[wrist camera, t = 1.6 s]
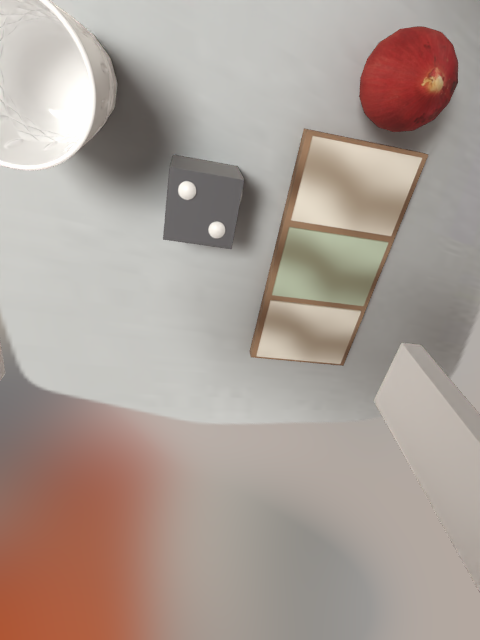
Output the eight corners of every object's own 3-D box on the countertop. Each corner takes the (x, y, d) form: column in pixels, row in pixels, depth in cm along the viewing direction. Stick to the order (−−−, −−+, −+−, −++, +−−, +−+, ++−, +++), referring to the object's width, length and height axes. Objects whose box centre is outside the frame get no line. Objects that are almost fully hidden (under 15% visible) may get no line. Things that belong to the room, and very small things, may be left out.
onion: (437, 47, 28) (515, 37, 21) (400, 134, 30) (459, 150, 24) (363, 21, 26) (421, 2, 20) (332, 114, 29) (374, 125, 22)
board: (304, 128, 30) (307, 130, 29) (422, 152, 31) (429, 155, 30) (249, 351, 40) (251, 358, 39) (340, 359, 42) (343, 366, 41)
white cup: (120, 12, 25) (82, -21, 16) (131, 146, 29) (104, 173, 21) (-11, 0, 24) (-123, -41, 16) (19, 140, 28) (-57, 167, 20)
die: (173, 154, 30) (169, 167, 25) (239, 166, 31) (246, 180, 26) (167, 218, 32) (162, 240, 28) (228, 227, 33) (233, 250, 29)
